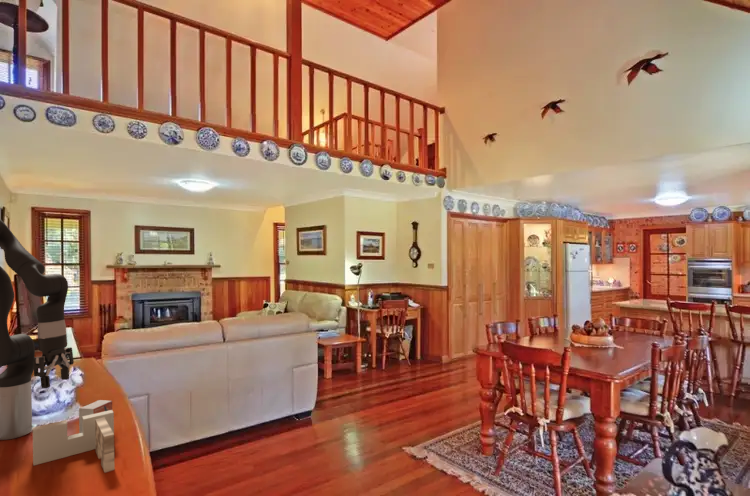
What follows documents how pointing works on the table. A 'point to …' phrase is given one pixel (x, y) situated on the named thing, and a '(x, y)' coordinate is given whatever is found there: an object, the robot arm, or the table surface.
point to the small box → (93, 410)
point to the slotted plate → (104, 444)
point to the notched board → (66, 438)
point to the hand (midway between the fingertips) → (55, 383)
